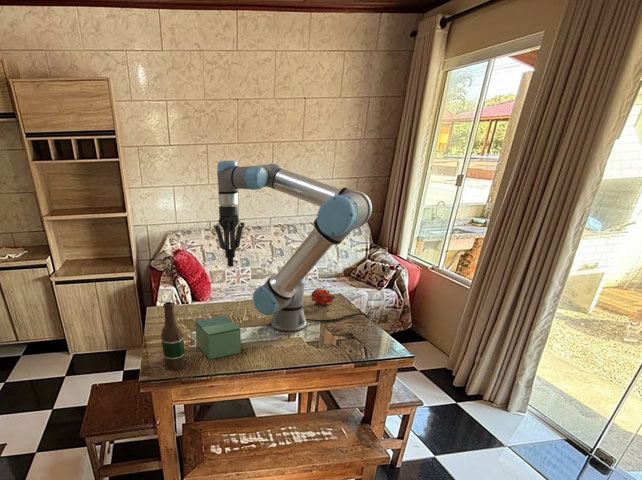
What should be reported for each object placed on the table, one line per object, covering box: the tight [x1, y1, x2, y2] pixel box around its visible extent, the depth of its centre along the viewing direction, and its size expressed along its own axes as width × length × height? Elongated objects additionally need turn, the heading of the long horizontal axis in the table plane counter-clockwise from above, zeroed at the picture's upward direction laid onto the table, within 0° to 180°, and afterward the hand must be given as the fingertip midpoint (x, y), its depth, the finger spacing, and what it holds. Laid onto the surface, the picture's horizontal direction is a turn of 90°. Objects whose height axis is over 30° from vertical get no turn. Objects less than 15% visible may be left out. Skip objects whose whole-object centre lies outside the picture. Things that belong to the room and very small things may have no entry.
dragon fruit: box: [310, 287, 336, 306], centre depth 200 cm, size 8×8×12 cm
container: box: [194, 321, 242, 360], centre depth 159 cm, size 15×13×10 cm
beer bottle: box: [160, 301, 186, 371], centre depth 145 cm, size 8×8×24 cm
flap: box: [194, 315, 233, 327], centre depth 160 cm, size 7×13×1 cm, turn 113°
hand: (230, 265), depth 170 cm, fingers closed
